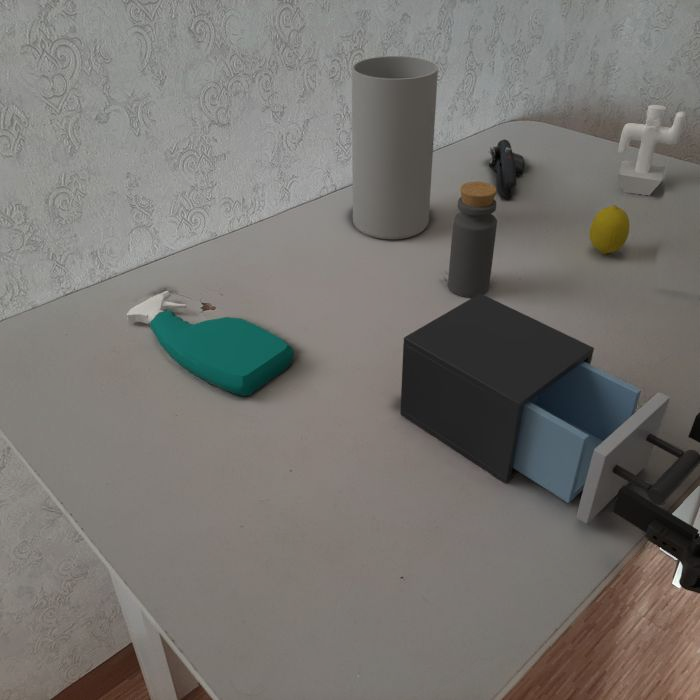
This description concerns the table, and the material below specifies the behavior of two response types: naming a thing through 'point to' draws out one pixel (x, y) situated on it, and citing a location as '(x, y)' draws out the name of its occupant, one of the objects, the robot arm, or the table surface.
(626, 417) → the compartment
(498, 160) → the can opener
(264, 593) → the table surface
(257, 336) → the spray bottle
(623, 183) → the figurine
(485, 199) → the bottle
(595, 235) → the lemon
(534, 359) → the drawer cabinet
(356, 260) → the table surface
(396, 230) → the cylinder vase
